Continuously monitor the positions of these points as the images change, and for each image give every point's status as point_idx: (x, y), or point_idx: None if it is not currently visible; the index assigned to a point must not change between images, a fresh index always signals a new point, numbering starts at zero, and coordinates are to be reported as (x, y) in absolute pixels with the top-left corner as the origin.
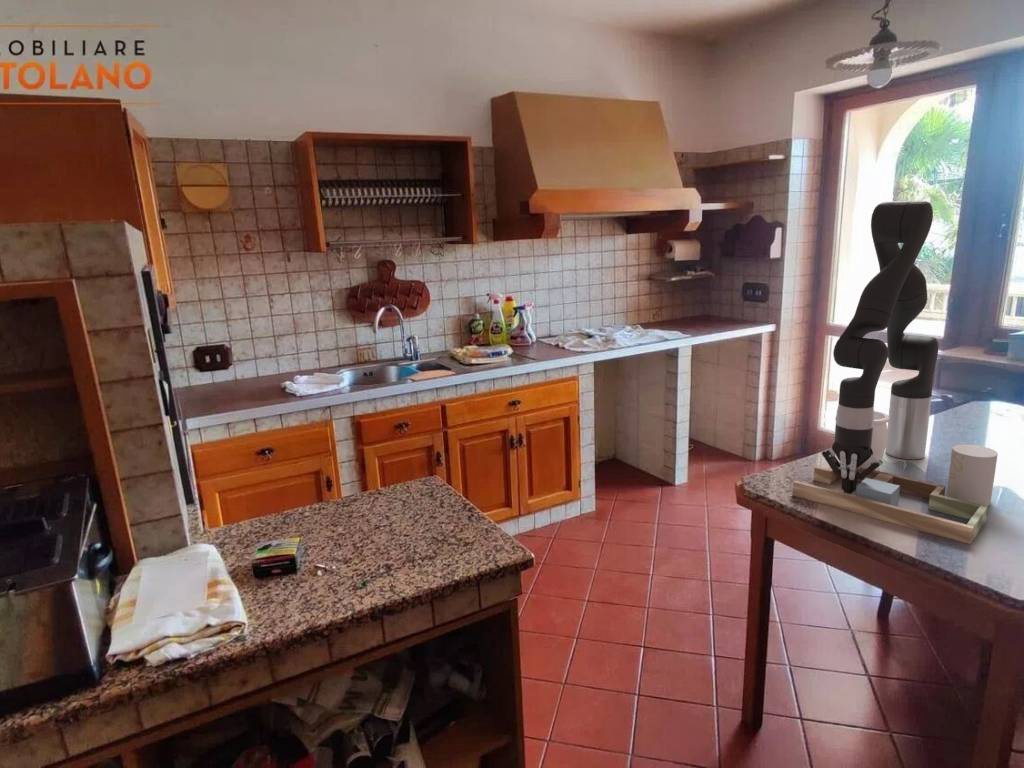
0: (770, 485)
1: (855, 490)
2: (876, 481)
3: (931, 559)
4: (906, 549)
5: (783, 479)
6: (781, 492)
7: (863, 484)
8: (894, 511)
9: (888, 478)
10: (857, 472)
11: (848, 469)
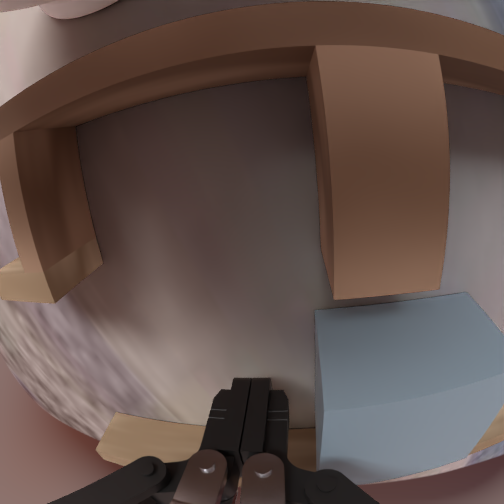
0: (47, 385)
1: (283, 390)
2: (406, 415)
3: (487, 454)
4: (456, 463)
5: (19, 326)
6: (94, 414)
7: (341, 472)
8: None
9: (434, 137)
10: (278, 496)
11: (208, 497)
